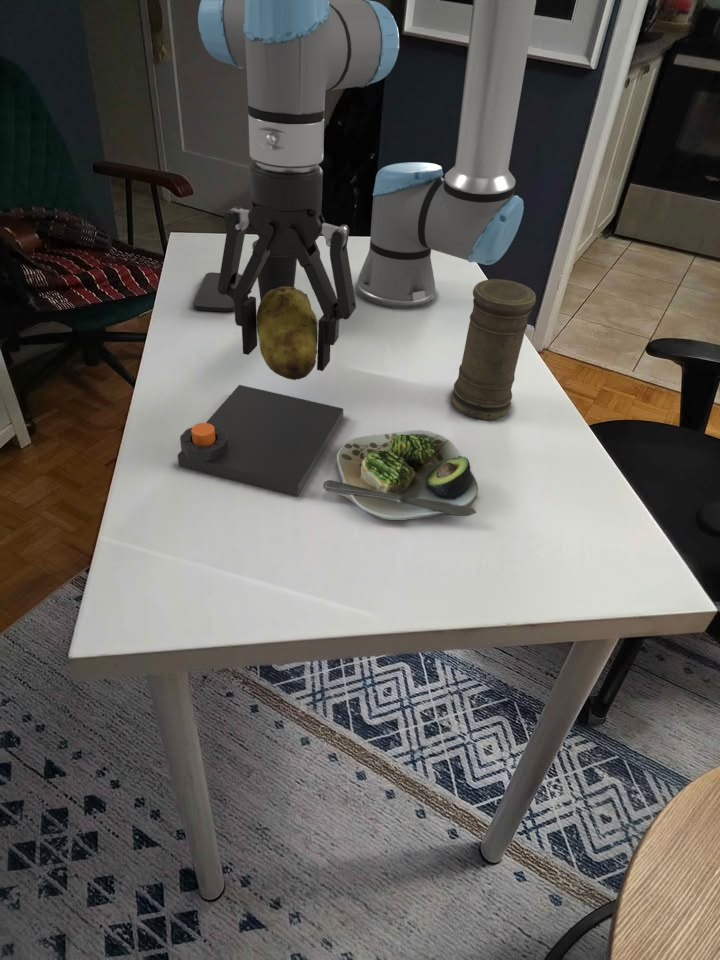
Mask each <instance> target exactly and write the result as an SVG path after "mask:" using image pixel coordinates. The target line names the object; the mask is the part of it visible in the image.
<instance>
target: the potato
mask: <svg viewBox="0 0 720 960" xmlns="http://www.w3.org/2000/svg"><path fill="white" fill-rule="evenodd" d="M257 307H258V308H257V310H256V316H257V338H258V343H259V349H260V354H261V356H262V358H263V360H264V363H265V364H266V365H267V367H268V368H269V370H271V371H272V373H274V374H276V375H278V376H280V377H282V378H285V379H287V380H292V381H296V380H301V379H304V378H306V377H307V376H309V375H310V373H312V371H314V368H315V366H316V364H317V352H318V319H317V315H316V313H315V312H314V310H313V309H312V304H311V300H310V299H309V296H308V294H307V293H305V292H303V290H300V289H298V288H296V287H295V286H294V287H287V286H283V287H279V288H276V289H273V290H270V291H268V292H267V293H266V294H265V295H264V297H263V298H262V300H261V301H260V302H259V305H258V306H257Z"/></svg>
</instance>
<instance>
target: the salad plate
mask: <svg viewBox="0 0 720 960" xmlns="http://www.w3.org/2000/svg"><path fill="white" fill-rule="evenodd" d="M335 460H336V464H337V469H338V473H339V477H340V478H341V481H337V480H332V479H328V480H325V481H324V482H323V483H322V489H323V490H324V491H326V492H328V493H331V494H334V495H338V496H343V497H346V498H347V500H350V501H351V502H352V503H353V504H355V505H356V506H357V507H358V508H359V509H360V510H362V511H364V512H366V513H368V514H371V515H373V516H375V517H377V518H379V519H383V520H391V521H405V520H414V519H420V518H428V517H429V518H430V517H442V516H453V517H454V516H455V517H457V516H458V517H470V516H472V515H474V514H475V515H476V513H478V512H477V511H476V509H475V508H473V507H472V504H473V503H474V502H475V500H476V499H477V496H478V492H479V487H478V482H477V479H476V478H475V475H474V474H473V472H472V471H471V463H470V461H469V459H468V457H466V456H462V454H461V453H460V451H459V449H457V447H456V446H455V445H454V443H453V442H452V441H450V440H449V439H448V438H446V437H445V436H443V435H441V434H438V433H435V432H431V431H428V430H421V429H417V430H416V429H414V430H406V431H398V432H391V433H384V434H373V435H364V436H357V437H354V438H351V439H350V440H347V442H345V443H344V444H343V445H342V446H341V447H340V448H339V450H338V451H337V452H336V454H335Z"/></svg>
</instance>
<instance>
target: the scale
mask: <svg viewBox="0 0 720 960" xmlns="http://www.w3.org/2000/svg"><path fill="white" fill-rule="evenodd" d="M343 420H344V408H343V407H339V406H334V405H331V404H326V403H322V402H318V401H317V402H316V401H312V400H308V399H304V398H299V397H295V396H290V395H285V394H282V393H278V392H273V391H270V390H269V391H268V390H264V389H259V388H256V387H251V386H248V385H242V384H239V385H237V386H236V388H235V389H234V390H233V391H232V393H230V395H228V397H227V398H226V399H225V400H224V401H223V402H222V404H221V405H220V406H219V407H218V408H217V409H216V411H214V413H212V415H211V416H210V418H208V419H207V421H206V422H205V423H209V424H211V425H213V426H214V428H215V439H216V440H215V442H214V444H211V445H209V446H198V445H195V444H194V443H193V440H192V431H191V429H192V427H190V428H186V429H185V430H184V432H182V434H181V435H180V436H179V439H180V440H179V441H180V442H179V443H180V449H181V450H180V452H178V454H177V462H178V467H179V468H184V469H188V470H191V471H196V472H200V473H203V474H207V475H212V476H215V477H218V478H223V479H227V480H229V481H234V482H238V483H243V484H246V485H250V486H252V487H253V486H254V487H259V488H260V489H261V488H262V489H266V490H269V491H273V492H276V493H281V494H285V495H288V496H293V497H299V496H300V494H301V492H302V491H303V488H304V487H305V485H306V483H307V482H308V480H309V478H311V477H310V476H311V475H312V473H313V471H314V470H315V468H316V466H317V465H318V463H319V461H320V459H321V457H322V456H323V454H324V453H325V451H326V450H327V448H328V445H329V444H330V443H331V441H332V440H333V437H334V436H335V434H336V432H337V431H338V429H339V427H340V425H341V423H342V421H343Z"/></svg>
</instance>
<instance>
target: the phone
mask: <svg viewBox="0 0 720 960" xmlns="http://www.w3.org/2000/svg"><path fill="white" fill-rule="evenodd" d="M241 276H242V274H241V273H238V275H237V281H236V283H237V284H238V282H239V280H240V278H241ZM219 277H220V272H214V271H211V272H207V273H206V274H205V275H204V277H203V279H202V281H201V284H200V287H199V289H198V290H197V294H196V295H195V298H194V301H193V303H192V305H193V309H195V310H197V311H209V312H210V311H211V312H228V313H229V312H233V311H235V309H234V301H233V299H232V298H231V297H230V296H228V295H226V294H225V295H222V294H220V293H219V292H218V283H219Z"/></svg>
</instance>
